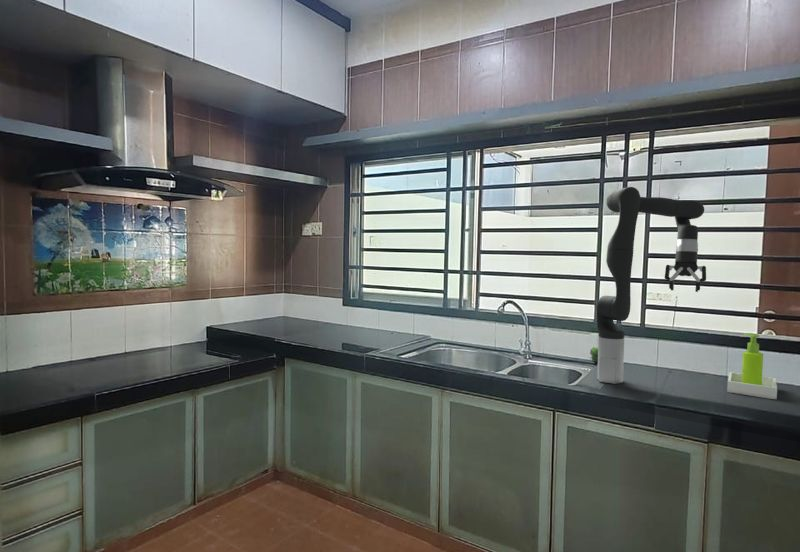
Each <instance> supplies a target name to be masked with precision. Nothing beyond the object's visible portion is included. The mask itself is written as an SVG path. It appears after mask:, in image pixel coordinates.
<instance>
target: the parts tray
mask: <svg viewBox="0 0 800 552" xmlns="http://www.w3.org/2000/svg"><path fill="white" fill-rule="evenodd" d="M726 391H727V393H732V394H737V395H743V396H744V395H745V396H751V397H757V398H758V397H759V398H762V399H769V400H770V399H771V400H778V399H777V397H778V385H777V379H776V377H769V376H763V375H762V385H755V384H747V383H742V373H737V372H732V371H729V373H728V377H727V389H726Z"/></svg>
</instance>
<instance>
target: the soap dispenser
mask: <svg viewBox="0 0 800 552" xmlns="http://www.w3.org/2000/svg"><path fill="white" fill-rule="evenodd" d="M745 335H746V336H748V337H749V336H750V341H749V342H747V350H746V351H743V352H742V366H741V368H742V372H741V374H742V383H747V384H755V385H762V376H763V365H764V354H763V353H761V352H760V343H758V342H757V338H759V337H760V335H759V334H756V333H752V332H751V333H750V332H747V333H744V332H743V336H745Z"/></svg>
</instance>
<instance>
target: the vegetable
mask: <svg viewBox="0 0 800 552" xmlns="http://www.w3.org/2000/svg"><path fill="white" fill-rule="evenodd" d="M589 354H590V356H591V358H592V360H593V361H594V362H595V363H597V364H598V346H596V347H595V346H593V347H592V348H591V349H590V352H589Z"/></svg>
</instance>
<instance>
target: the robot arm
mask: <svg viewBox="0 0 800 552" xmlns="http://www.w3.org/2000/svg"><path fill="white" fill-rule="evenodd" d="M605 202H606V203H605V204H606V207H607V209H608V210H610V211H611V212H614V213H617V214H618V213H619V214H618V215H619V217H618V222H617V226H616V228H615V230H614V231H613V234H612V235H611V236H610V239H609V241H608V243H607V249H606V259H605V260H606V266H607V268H608V270H609V272H610V274H611V276H612V279H613V280H614V282H615V296H614V295H601V296H600V297H599V299H598V300H597V304H596V328H597V329H596V330H597V332H598V341H597V342H598V344H597V345H598V346H597V347H598V363H597V380H598V382H600V383H607V384H613V385H616V384H623V382H624V358H625V357H624V355H625V330H623V328H620V327H618V326H617V324H615V322H614V321H618V322H624V321H626V320H627V319H628V318H629V315H630V312H631V305H632V304H631V281H632V266H633V259H634V246H635V245H634V243H635V236H636V227H637V221H638V216H639V213H642V214H648V215H649V214H650V215H657V216H663V217H669V218H670V217H673V218H674V219H675V220H674V221H675V224H676V228H677V238H676V239H677V240H676V246H675V258H674V259H675V260H674V265H671V264H667V265H666V266H665V271H664V279H665V280H666V281H667V280H668V283H669V285H668V287H669V289H670V291H675V290H674V287H675V285H674V284H675V279H676V278H678V277H679V276H680V277H692V278H693V279H694V280H695V281H696V282H695V292H696V293H698V292H699V291H700V290H701V284H702V283H703V282H707V266H706V265H701V266H698V252H699V243H698V237H699V227H698V226H697V225H695V224H694V225H693V224H691V220H695V219H699V218H700V217H702V216H703V215H704V212H705V205H703V204H702V203H701V202H700V201H697V200H693V199H685V200H684V199H674V198H673V199H672V198H669V197H662V196H661V197H658V196H655V197H654V196H652V197H651V196H641V195H640V191H639V190H638V188H636V187H633V186H628V187H622V188H617V189H614V190H612V191H611V192H610V193H608V195H607V197H606V201H605ZM673 269H674V271H675V272H674V274H672V276H670V272H671V271H672V270H673ZM698 270H699V271H700V273H701V278H699V276H698V275H697V274H696V272H697V271H698Z"/></svg>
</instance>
